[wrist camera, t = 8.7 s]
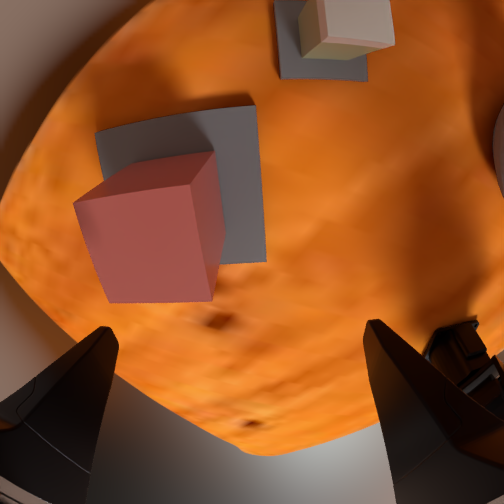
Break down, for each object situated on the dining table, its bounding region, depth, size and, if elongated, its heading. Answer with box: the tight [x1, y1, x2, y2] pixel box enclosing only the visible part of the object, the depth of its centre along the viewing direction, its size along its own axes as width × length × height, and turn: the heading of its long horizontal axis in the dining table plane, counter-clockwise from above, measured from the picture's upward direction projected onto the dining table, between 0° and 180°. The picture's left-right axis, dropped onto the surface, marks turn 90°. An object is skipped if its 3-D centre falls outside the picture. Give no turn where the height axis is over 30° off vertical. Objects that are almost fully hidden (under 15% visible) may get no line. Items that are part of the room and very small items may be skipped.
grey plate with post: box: [95, 105, 267, 264], centre depth 15 cm, size 10×10×7 cm
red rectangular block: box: [73, 151, 226, 303], centre depth 14 cm, size 5×5×7 cm
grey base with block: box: [273, 0, 395, 82], centre depth 10 cm, size 5×5×7 cm
